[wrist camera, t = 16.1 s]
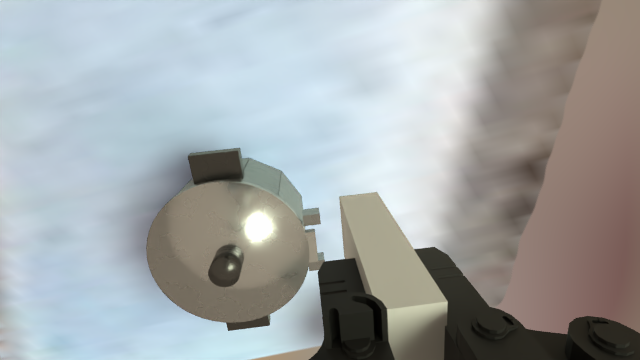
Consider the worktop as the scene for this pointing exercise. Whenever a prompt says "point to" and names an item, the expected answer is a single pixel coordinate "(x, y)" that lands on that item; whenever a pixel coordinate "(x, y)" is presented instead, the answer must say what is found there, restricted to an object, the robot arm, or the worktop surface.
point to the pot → (255, 172)
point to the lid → (229, 251)
